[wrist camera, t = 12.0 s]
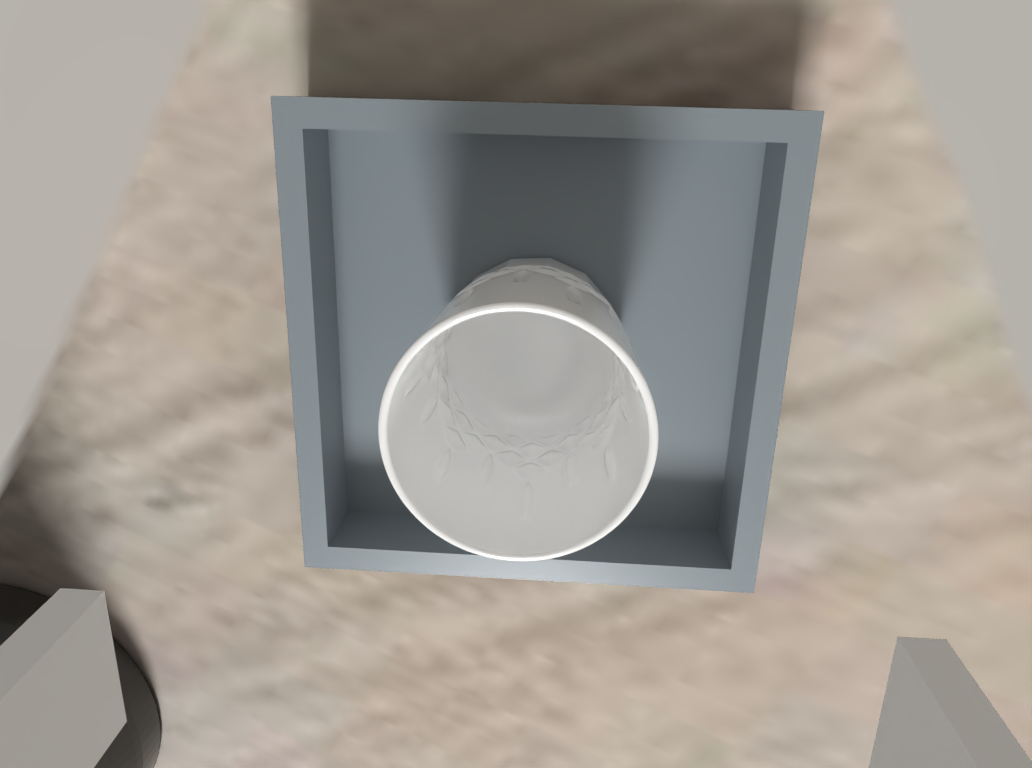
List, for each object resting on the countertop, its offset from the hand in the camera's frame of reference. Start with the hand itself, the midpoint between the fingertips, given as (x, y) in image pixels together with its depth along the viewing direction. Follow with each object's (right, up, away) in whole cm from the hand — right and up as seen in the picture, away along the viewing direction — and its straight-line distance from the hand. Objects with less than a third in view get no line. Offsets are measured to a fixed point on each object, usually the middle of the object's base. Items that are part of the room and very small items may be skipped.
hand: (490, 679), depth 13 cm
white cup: (+1, +7, +19) cm, 20 cm away
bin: (+1, +7, +19) cm, 21 cm away
